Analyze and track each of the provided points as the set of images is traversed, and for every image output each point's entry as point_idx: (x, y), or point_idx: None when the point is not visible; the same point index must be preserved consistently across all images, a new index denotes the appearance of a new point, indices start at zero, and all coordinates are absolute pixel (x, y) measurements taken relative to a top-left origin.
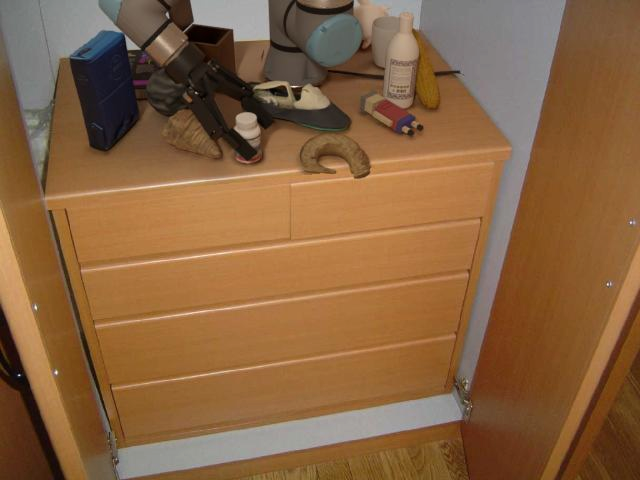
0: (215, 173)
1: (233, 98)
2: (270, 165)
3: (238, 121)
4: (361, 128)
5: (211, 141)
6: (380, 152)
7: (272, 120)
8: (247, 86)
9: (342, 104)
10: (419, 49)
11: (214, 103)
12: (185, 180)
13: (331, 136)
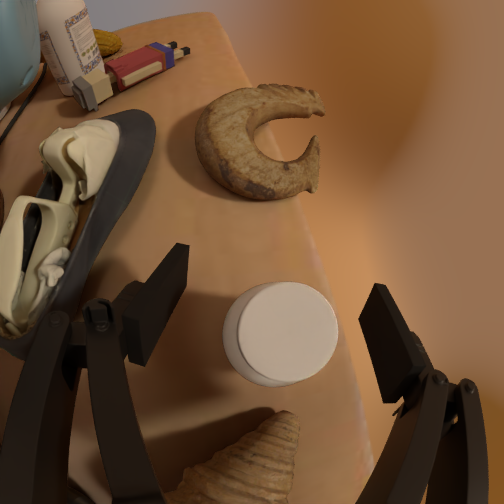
0: (345, 406)
1: (134, 409)
2: (299, 273)
3: (326, 362)
4: (144, 106)
5: (271, 448)
6: (228, 83)
7: (181, 248)
8: (57, 333)
9: None
10: None
11: (413, 483)
12: (372, 457)
13: (221, 120)
